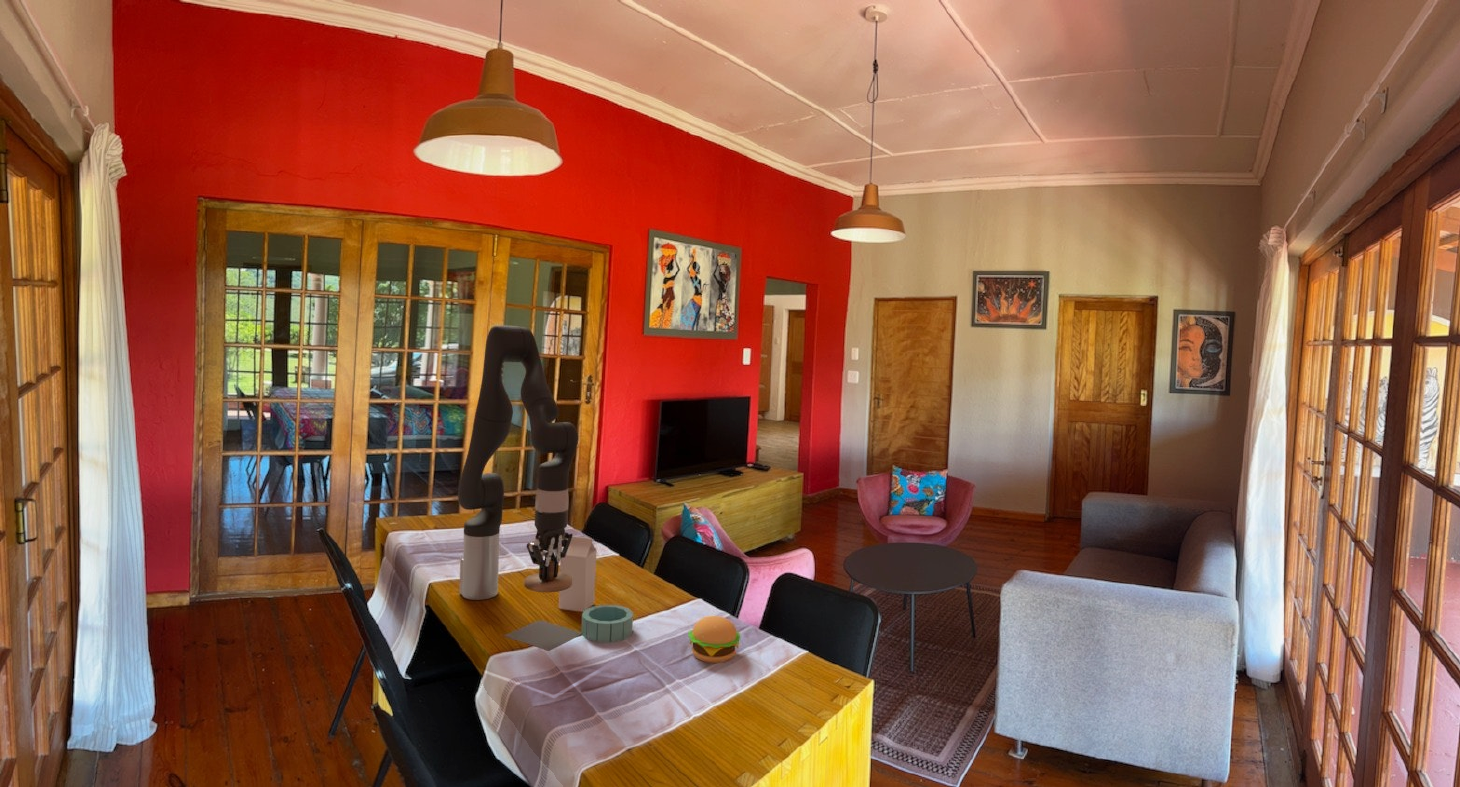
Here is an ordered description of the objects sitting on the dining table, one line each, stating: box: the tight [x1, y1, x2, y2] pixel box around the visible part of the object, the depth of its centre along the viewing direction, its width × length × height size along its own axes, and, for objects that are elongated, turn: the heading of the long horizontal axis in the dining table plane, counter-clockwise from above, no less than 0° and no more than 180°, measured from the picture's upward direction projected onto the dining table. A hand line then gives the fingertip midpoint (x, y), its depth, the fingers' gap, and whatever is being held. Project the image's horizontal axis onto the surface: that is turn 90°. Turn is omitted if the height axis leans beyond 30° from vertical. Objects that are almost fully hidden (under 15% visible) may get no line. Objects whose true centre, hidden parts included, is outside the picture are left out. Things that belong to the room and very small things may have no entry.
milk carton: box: [558, 535, 597, 613], centre depth 192 cm, size 7×7×19 cm
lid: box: [523, 560, 572, 593], centre depth 172 cm, size 11×11×6 cm
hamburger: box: [688, 615, 741, 664], centre depth 168 cm, size 12×12×9 cm
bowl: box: [580, 604, 634, 643], centre depth 177 cm, size 12×12×5 cm
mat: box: [503, 619, 582, 652], centre depth 173 cm, size 14×12×1 cm
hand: (548, 578), depth 172 cm, fingers closed on lid, 2 cm apart
